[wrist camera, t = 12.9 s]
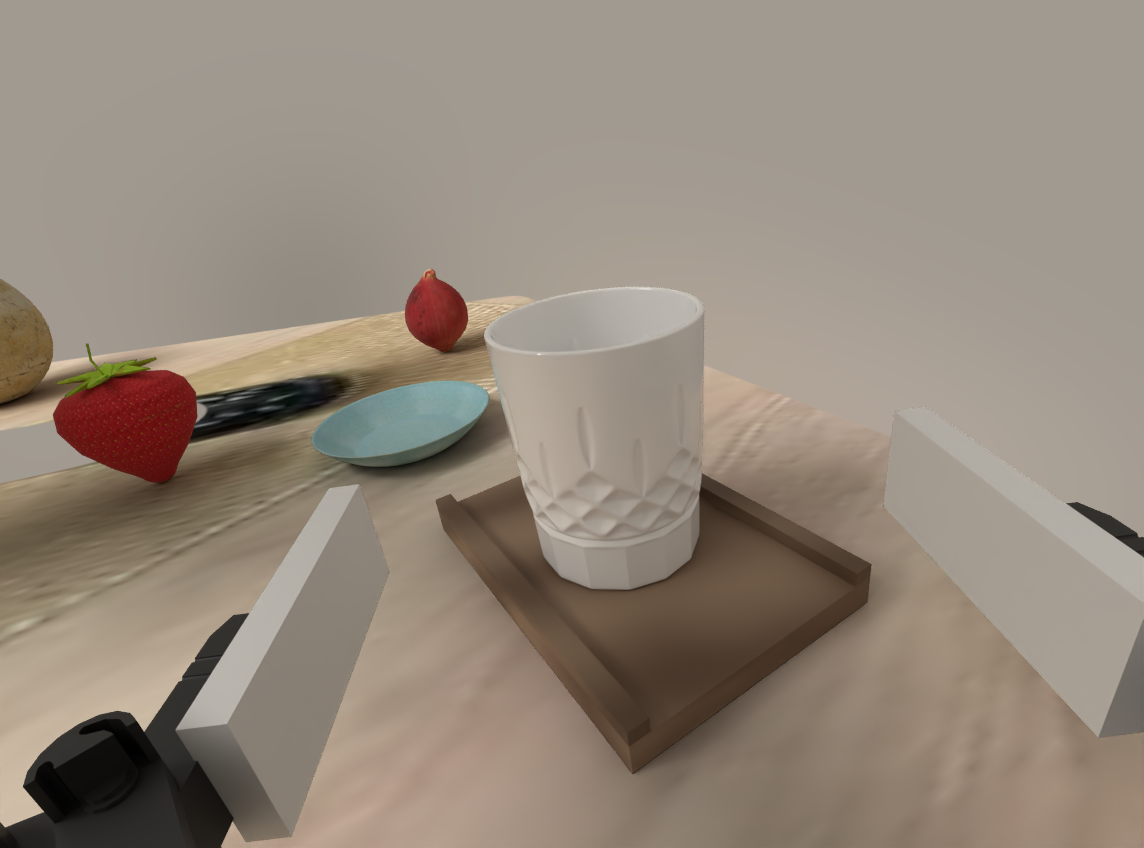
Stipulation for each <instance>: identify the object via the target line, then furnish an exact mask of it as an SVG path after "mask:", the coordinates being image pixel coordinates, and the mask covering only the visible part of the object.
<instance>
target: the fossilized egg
mask: <svg viewBox="0 0 1144 848" xmlns="http://www.w3.org/2000/svg"><path fill="white" fill-rule="evenodd" d="M52 357H53V341H52V337H51V333H50V330H49V327H48V325H47V323H46V321H45V319H44V318H43V316H42V314H41V313H40V312H39V310H38V309H37V308H36V307H35V306H34V305H33V303H32V302H31V301H30V300H29V299H27V298H26V297H25V296H24V295H23V294H22V293H20V292H19V291H18V290H17V289H15V288H14V287H12V286H11V285H9V284H8V283H6V282H5V281H3V280H1V279H0V404H2V403H6V402H9V401H12V400H15V399H17V398H19V397H21V396H23V395H24V394H26V393H28V392H30V391H31V390H32V389H33V388H34V387H36V386H37V385H38V384H39V383H40V382H41V381H42V379H43V378H44V376H45V375H46V373H47V371H48V370H49V367H50V364H51V361H52Z"/></svg>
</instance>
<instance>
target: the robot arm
mask: <svg viewBox="0 0 1144 848" xmlns="http://www.w3.org/2000/svg"><path fill="white" fill-rule="evenodd" d="M883 506H884V508H885V509H886V510H887V511H888V512H889V513H890V514H891V515H892V516H893V517H894V518H895V519H896V520H897V522H898V523H899V524H900V525H901V526H902V527H903V528H904V529H905V530H906V531H907V532H908V533H909V534H910V536H911V537H912V538H913V539H914V540H915V541H916V542H917V543H918V544H919V545H920V546H921V547H922V549H923V550H924V551H925V552H926V553H927V554H928V555H929V556H930V557H931V558H932V559H933V560H934V561H935V563H936V564H937V565H938V566H939V567H940V568H941V569H942V570H943V571H944V572H945V573H946V574H947V575H948V577H949V578H950V579H951V580H952V581H953V582H954V583H955V584H956V585H957V586H958V587H959V588H960V589H961V591H962V592H963V593H964V594H965V595H966V596H967V597H968V598H969V599H970V600H971V601H972V602H973V603H974V605H975V606H976V607H977V608H978V609H979V610H980V611H981V612H982V613H983V614H984V615H985V616H986V617H987V619H988V620H989V621H990V622H991V623H992V624H993V625H994V626H995V627H996V628H997V629H998V630H999V631H1000V633H1001V634H1002V635H1003V636H1004V637H1005V638H1006V639H1007V640H1008V641H1009V642H1010V643H1011V644H1012V645H1013V647H1014V648H1015V649H1016V650H1017V651H1018V652H1019V653H1020V654H1021V655H1022V656H1023V657H1024V658H1025V659H1026V661H1027V662H1028V663H1029V664H1030V665H1031V666H1032V667H1033V668H1034V669H1035V670H1036V671H1037V672H1038V673H1039V675H1040V676H1041V677H1042V678H1043V679H1044V680H1045V681H1046V682H1047V683H1048V684H1049V685H1050V686H1051V687H1052V689H1053V690H1054V691H1055V692H1056V693H1057V694H1058V695H1059V696H1060V697H1061V698H1062V699H1063V700H1064V701H1065V703H1066V704H1067V705H1068V706H1069V707H1070V708H1071V709H1072V710H1073V711H1074V712H1075V713H1076V714H1077V716H1078V717H1079V718H1080V719H1081V720H1082V721H1083V722H1084V723H1085V724H1086V725H1087V726H1088V727H1089V728H1090V730H1091V731H1092V732H1093V733H1094V734H1095V735H1096V736H1097V737H1098V738H1100V737H1108V736H1116V735H1125V734H1133V733H1141V732H1144V537H1140V538H1139V537H1138V534H1137V533H1136V532H1134V531H1133V530H1131V529H1130V528H1128V527H1127V526H1125V525H1124V524H1122V523H1121V522H1119V521H1118V520H1116V519H1114V518H1113V517H1112V516H1110V515H1107V514H1105V513H1102V512H1100V511H1097V510H1095V509H1093V508H1090V507H1088V506H1085V505H1083V504H1080V503H1078V502H1075V503H1067V504H1066V503H1064V502H1063V501H1061V500H1060V499H1059V498H1057V497H1056V496H1054V495H1053V494H1051V493H1050V492H1048V491H1047V490H1046V489H1044V488H1043V487H1041V486H1040V485H1038V484H1037V483H1035V482H1034V481H1033V480H1031V479H1030V478H1028V477H1027V476H1025V475H1024V474H1022V473H1021V472H1020V471H1018V470H1017V469H1015V468H1014V467H1012V466H1011V465H1010V464H1008V463H1007V462H1005V461H1004V460H1002V459H1001V458H999V457H998V456H997V455H995V454H994V453H992V452H991V451H989V450H988V449H986V448H985V447H984V446H982V445H981V444H979V443H978V442H976V441H975V440H973V439H972V438H970V437H969V436H968V435H966V434H965V433H963V432H962V431H960V430H959V429H958V428H956V427H955V426H953V425H952V424H950V423H949V422H947V421H946V420H944V419H943V418H942V417H940V416H939V415H937V414H936V413H934V412H933V411H932V410H930V409H929V408H927V407H920V408H913V409H905V410H898V411H894V416H893V425H892V434H891V442H890V451H889V460H888V469H887V478H886V486H885V495H884V504H883ZM388 574H389V569H388V566H387V563H386V560H385V557H384V554H383V551H382V549H381V546H380V543H379V540H378V537H377V534H376V531H375V528H374V525H373V522H372V519H371V516H370V513H369V510H368V507H367V504H366V502H365V499H364V496H363V493H362V490H361V487H360V484H356V485H349V486H341V487H334V488H329V489H328V491H327V492H326V494H325V495H324V497H323V498H322V500H321V502H320V503H319V505H318V506H317V508H316V509H315V511H314V513H313V514H312V516H311V517H310V519H309V521H308V522H307V524H306V525H305V527H304V528H303V530H302V532H301V533H300V535H299V536H298V538H297V539H296V541H295V543H294V544H293V546H292V547H291V549H290V550H289V552H288V554H287V555H286V557H285V558H284V560H283V561H282V563H281V565H280V566H279V568H278V569H277V571H276V572H275V574H274V576H273V577H272V579H271V580H270V582H269V583H268V585H267V587H266V588H265V590H264V591H263V593H262V595H261V596H260V598H259V599H258V601H257V602H256V604H255V606H254V607H253V609H252V610H251V612H250V613H246V614H239V615H233V616H232V617H231V618H230V619H229V620H228V621H226V622H225V623H224V624H223V625H222V626H221V627H220V628H219V629H217V630H216V631H215V632H214V633H213V634H212V635H211V636H210V637H209V638H208V640H207V641H206V643H205V644H204V646H203V647H202V649H201V650H200V652H199V653H198V654H197V656H196V657H195V662H193V663H191V665H190V666H189V668H188V669H187V671H186V672H185V673H184V675H183V676H182V678H183V679H182V681H180V682H178V684H177V685H176V687H175V688H174V689H173V691H172V692H171V694H170V695H169V697H168V698H167V700H166V701H165V703H164V704H163V706H162V707H161V708H160V710H159V711H158V713H157V714H156V716H155V717H154V719H153V720H152V722H151V723H150V724H149V726H148V727H147V729H146V730H145V732H144V731H143V730H142V728H141V727H140V725H139V724H138V722H137V721H136V720H135V718H134V717H133V716H132V715H131V713H127V712H121V711H115V712H110V713H105V714H101V715H98V716H95V717H93V718H91V719H89V720H87V721H84V722H82V723H80V724H78V725H77V726H75V727H74V728H72V729H71V730H69V731H68V732H66V733H64V734H63V735H61V736H60V737H58V738H57V739H56V740H55V741H54V742H53V743H52V744H51V745H50V746H49V747H47V748H46V749H45V750H44V751H43V752H42V753H41V754H40V755H39V756H38V758H37V759H36V760H35V762H34V763H33V765H32V766H31V767H30V769H29V770H28V772H27V775H26V778H25V781H24V785H23V788H24V789H25V790H26V791H27V792H28V793H29V795H30V796H31V797H32V798H33V799H34V800H35V802H36V803H37V804H38V805H39V806H40V807H41V809H42V810H43V811H44V812H43V813H41V814H38V815H36V816H33V817H31V818H28V819H26V820H23V821H21V822H18V823H16V824H13V825H11V826H8V827H4V826H3V825H2V824H1V823H0V848H221V845H222V843H223V840H224V838H225V836H226V834H227V832H228V830H229V828H230V825H231V823H232V821H233V822H234V824H235V825H236V827H237V829H238V830H239V832H240V833H241V835H242V837H243V838H244V840H245V841H246V842H251V841H260V840H268V839H276V838H284V837H292V834H293V831H294V829H295V826H296V823H297V820H298V818H299V815H300V812H301V810H302V807H303V804H304V802H305V799H306V796H307V793H308V791H309V788H310V785H311V783H312V780H313V777H314V774H315V772H316V769H317V766H318V764H319V761H320V758H321V756H322V753H323V750H324V747H325V745H326V742H327V739H328V737H329V734H330V731H331V728H332V726H333V723H334V720H335V718H336V715H337V712H338V710H339V707H340V704H341V701H342V699H343V696H344V693H345V691H346V688H347V685H348V683H349V680H350V677H351V674H352V672H353V669H354V666H355V664H356V661H357V658H358V655H359V653H360V650H361V647H362V645H363V642H364V639H365V637H366V634H367V631H368V628H369V626H370V623H371V620H372V618H373V615H374V612H375V609H376V607H377V604H378V601H379V599H380V596H381V593H382V591H383V588H384V585H385V582H386V580H387V577H388Z"/></svg>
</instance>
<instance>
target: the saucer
mask: <svg viewBox="0 0 1144 848" xmlns="http://www.w3.org/2000/svg"><path fill="white" fill-rule="evenodd" d="M488 403H489V395H488V393H487V391H486V390H485V389H483V388H482V387H480V386H479V385H476V384H472V383H468V382H462V381H433V382H425V383H419V384H413V385H407V386H402V387H398V388H394V389H390V390H387V391H384V392H380V393H378V394H374V395H371V396H369V397H366V398H363V399H361V400H359V401H356V402H354V403H351V404H349V405H347V406H346V407H344V408H342V409H340V410H339V411H337V412H335V413H334V414H332V415H331V416H330V417H328V418H327V419H325V420H324V421H323V422H322V423H321V424H320V425H319V426H318V427H317V428H316V430H315V431H314V433H313V435H312V438H311V441H312V442H311V443H312V446H313V447H314V448H315V449H316V450H317V451H319V452H321V453H323V454H325V455H327V456H330V457H332V458H335V459H338V460H340V461H344V462H347V463H351V464H356V465H361V466H370V467H389V466H398V465H404V464H408V463H412V462H416V461H419V460H422V459H425V458H428V457H430V456H433V455H435V454H437V453H439V452H441V451H443V450H445V449H446V448H448V447H449V446H451V445H453V444H454V443H455V442H457V441H458V440H459V439H460V438H462V437H463V436H464V435H465V434H466V433H467V432H468V431H469V430H470V429H471V428H472V427H473V426H474V425H475V423H476V422H477V421H478V420H479V418H480V417H481V415H482V414H483V412H484V411H485V409H486V407H487V406H488Z"/></svg>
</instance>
